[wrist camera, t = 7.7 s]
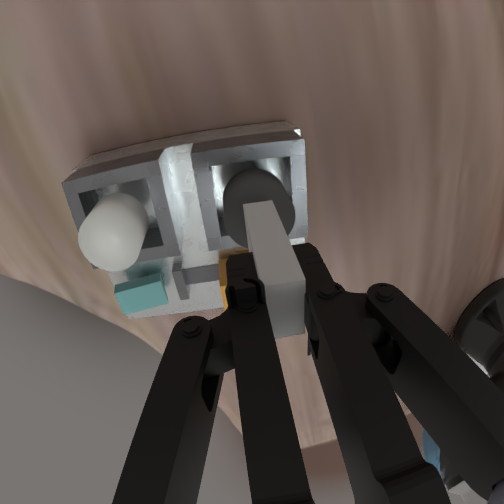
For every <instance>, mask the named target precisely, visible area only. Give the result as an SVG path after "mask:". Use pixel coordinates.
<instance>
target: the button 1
mask: <svg viewBox="0 0 504 504" xmlns="http://www.w3.org/2000/svg"><path fill="white" fill-rule="evenodd" d="M148 225H149V219H148V215H147V212H146V210H145V208H144V206H143V205H142V204H141V203H140V202H139V201H138V200H137V199H136V198H134V197H133V196H131V195H128V194H125V193H111V194H108V195H106V196H104V197H103V198H101V199H100V200H99V201H98V203H97V204H96V205H95V207H94V208H93V209H92V211H91V212H90V213H89V215H88V216H87V218H86V219H85V220H84V222H83V223H82V225H81V227H80V229H79V233H78V243H79V247H80V249H81V251H82V253H83V255H84V256H85V257H86V259H87V260H88V261H89V262H91V263H92V264H93V265H95V266H96V267H98V268H100V269H103V270H107V271H121V270H124V269H127V268H128V267H130V266H131V265H133V264H134V263H135V261H136V260H137V258H138V256H139V253H140V250H141V247H142V244H143V241H144V238H145V236H146V233H147V230H148Z"/></svg>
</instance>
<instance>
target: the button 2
mask: <svg viewBox="0 0 504 504" xmlns="http://www.w3.org/2000/svg"><path fill="white" fill-rule="evenodd" d="M270 200H272V201H273V204H274V206H275V208H276V210H277V213H278V215H279V217H280V220H281V222H282V224H283V227H284V229H285V231H286V234H287V236H288V235H289V234H290V232H291V231H292V229H293V226H294V223H295V216H296V214H295V208H294V205H293V203H292V201H291V199H290V197H289V195H288V194H287V192H286V190H285V188H284V187H283V185H282V183H281V181H280V180H279V179H278V178H277V177H276V176H275V175H274V174H272V173H271V172H269V171H267V170H263V169H256V168H254V169H247V170H244V171H241V172H239V173H238V174H236V175H235V176H233V177H232V178H231V179H230V180H229V182H228V183H227V185H226V187H225V189H224V192H223V210H224V223H225V228H226V230H227V233H228V234H229V236H230V237H231V239H232V240H233V241H234V242H236V243H237V244H239V245H240V246H242V247H245V248H248V240H247V233H246V225H245V217H244V210H243V204H248V203H255V202H263V201H270ZM248 249H249V248H248Z"/></svg>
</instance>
